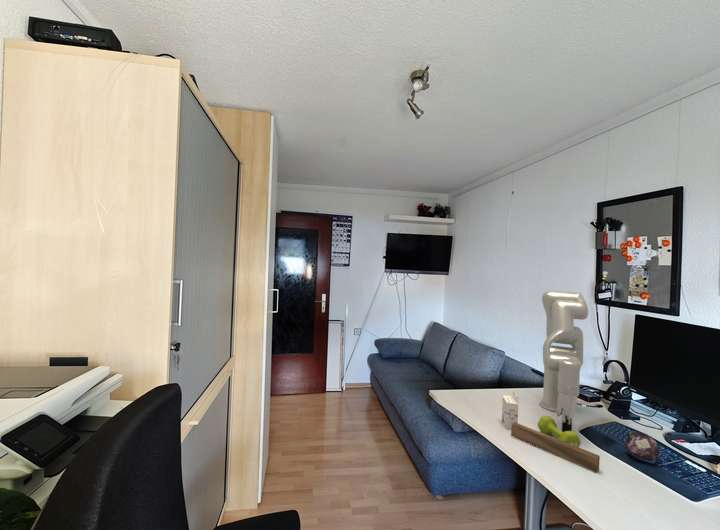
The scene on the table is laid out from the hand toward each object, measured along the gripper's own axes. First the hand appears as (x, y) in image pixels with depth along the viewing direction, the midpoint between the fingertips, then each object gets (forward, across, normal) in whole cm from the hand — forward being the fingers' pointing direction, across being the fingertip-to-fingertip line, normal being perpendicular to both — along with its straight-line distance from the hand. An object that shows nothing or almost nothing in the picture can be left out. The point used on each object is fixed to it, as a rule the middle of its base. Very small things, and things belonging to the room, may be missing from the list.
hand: (566, 432), depth 136 cm
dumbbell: (+3, +6, -1) cm, 7 cm away
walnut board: (+2, +16, 0) cm, 17 cm away
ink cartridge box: (+3, +9, -20) cm, 22 cm away
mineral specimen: (+3, -7, +23) cm, 24 cm away
